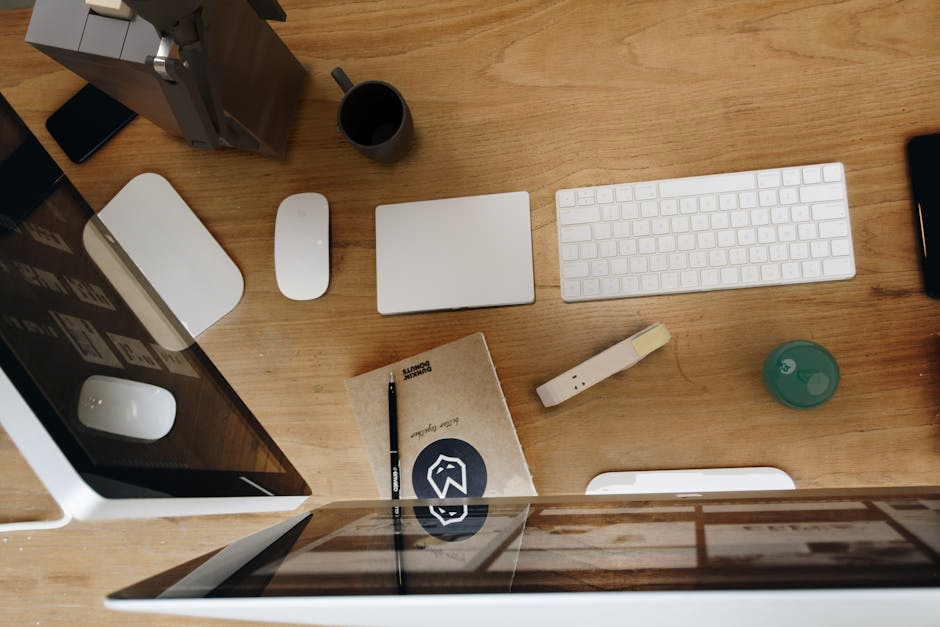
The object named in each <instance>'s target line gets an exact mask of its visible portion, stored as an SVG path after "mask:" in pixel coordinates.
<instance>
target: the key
mask: <svg viewBox="0 0 940 627" xmlns="http://www.w3.org/2000/svg"><path fill="white" fill-rule="evenodd" d="M85 3H86V4H87V5H88V6H89V7H91V8H92V9H93V10H94V11H96V12H97V13H98V14H99V15H103V16H108V17H114V18H119V19H125V20H130V21H131V18H132V14H133V11H132V10H131V9H130V8H129V7H128V6H127V5H126V4H125V3H124V2H122V1H121V0H86V2H85Z"/></svg>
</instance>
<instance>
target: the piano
mask: <svg viewBox="0 0 940 627" xmlns="http://www.w3.org/2000/svg"><path fill="white" fill-rule="evenodd" d="M218 1H219V2H218V6H217V10H216V13H215V15H214V20H213V29H212V38H213V42H214V47H215V51H216V55H215V56H214V57H213V58H212V62H213V66H214V71H215V75H216V80H217V84H218V88H219V93H220V97H221V101H222V106H223V110H224V115H225V116H226V117H232V118H233V119H234V120H235V121H236V122H238V123H239V124H240V125H241V126H242V127H243V128H244V129H245V130H246V131H248V132H249V133H250V134H251V135H252V136H253V137H254V138H255V139H256V140H258V141H259V142H260V147H259V150H254V149H247V148H240V147H232V146H225V145H221V146H223V147H227V148H232V149H237V150H243V151H246V152H251V153H257V154H262V155H266V156H272V157H276V158H281V159H283V158H284V156H285V153H286V149H287V145H288V141H289V139H290V138H289V137H290V133H291V129H292V127H293V123H294V119H295V113H296V111H297V107H298V104H299V99H300V95H301V91H302V87H303V83H304V79H305V76H306V72H307V69H306V68H305V67H304V66H303V64H302V63H301V62H300V61H299V59H298V58H297V57H296V56H295V54H294V53H293V52H292V50H291V49H290V48H289V47H288V46H287V44H286V43H285V41H283V40H282V38H281V37H280V36H279V34H278V33H277V32H276V31H275V29H273V27H272V26H271V25H270V23H269V22H268V20H262V19H260V18H259V17H258V15H257V14H256V13H255V11H254V10H253V9H252V7H251V6H250V4H249V3H248V2H247V0H218ZM85 2H86V0H35V3H34V6H33V10H32V13H31V16H30V20H29V24H28V26H27V30H26V34H25V38H24V42H25V43H26V44H28V45H29V46H31V47H32V48H34V49H35V50H38V51H39V52H41V53H42V54H44V55H45V56H47V57H49V58H50V59H52V60H53V61H55V62H56V63H58V65H60V66H62V67H64V68H66V70H69V71H70V72H72V73H73V74H75V75H76V76H78V77H80V78H82V79H83V80H84V81H86V82H88V84H91V85H92V86H94V87H96V88H97V89H99V90H100V91H101V92H102V93H105V94H106V95H108V96H109V97H110V98H112V99H114V100H116V101H117V102H119V103H120V104H121V105H124V106H125V107H127V108H128V109H129V110H131V111H133V112H135V113H136V114H138V115H139V116H141V117H142V118H144V119H146V120H147V121H149V122H150V123H152V125H155V126H156V127H158V128H159V129H161V130H163V131H164V132H166V133H167V134H169V135H170V136H174V137H179V138H183V139H185V137H184V135H183V133H182V131H181V129H180V127H179V125H178V123H177V121H176V118H175V116H174V114H173V112H172V110H171V108H170V106H169V104H168V102H167V99H166V97H165V95H164V93H163V91H162V89H161V87H160V85H159V83H158V81H157V80H156V79H155V78H154V77H153V76H152V75H151V74H150V73H149V72H148V71H147V69H146V67H145V58H146V56H148V55H151V56H157V54H158V50H159V47H160V44H161V40H160V38H159V37H158V34H157V32H156V30H155V28H154V26H153V25H152V24H151V23H149V22H148V21H146V20H144V19H143V18H141V17H140V16H138V15H137V14H136V13H134V12H133V14H132V18H131V21H130V20H125V19H119V18H114V17H108V16H103V15H99V14H98V13H97V12H96V11H94V10H93V9H92V8H91V7H89V6H88V5H87V4H86V3H85ZM187 46H195V47H201V45H200V42H196V43H193V44H189V45H187Z"/></svg>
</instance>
